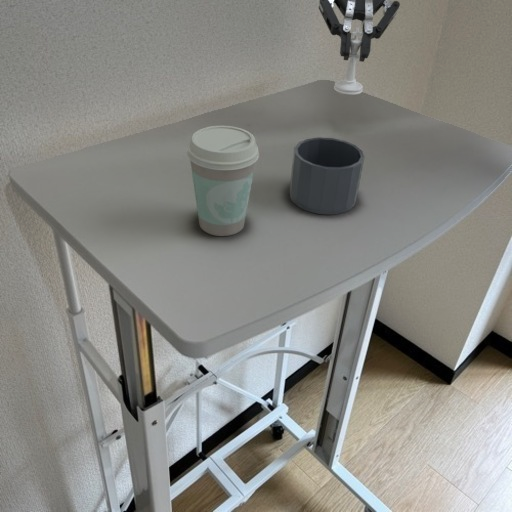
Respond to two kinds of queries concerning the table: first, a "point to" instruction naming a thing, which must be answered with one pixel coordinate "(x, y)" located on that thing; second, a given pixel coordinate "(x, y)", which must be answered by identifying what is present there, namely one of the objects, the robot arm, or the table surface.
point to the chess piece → (351, 69)
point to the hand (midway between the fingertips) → (354, 58)
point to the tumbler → (325, 175)
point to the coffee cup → (222, 176)
